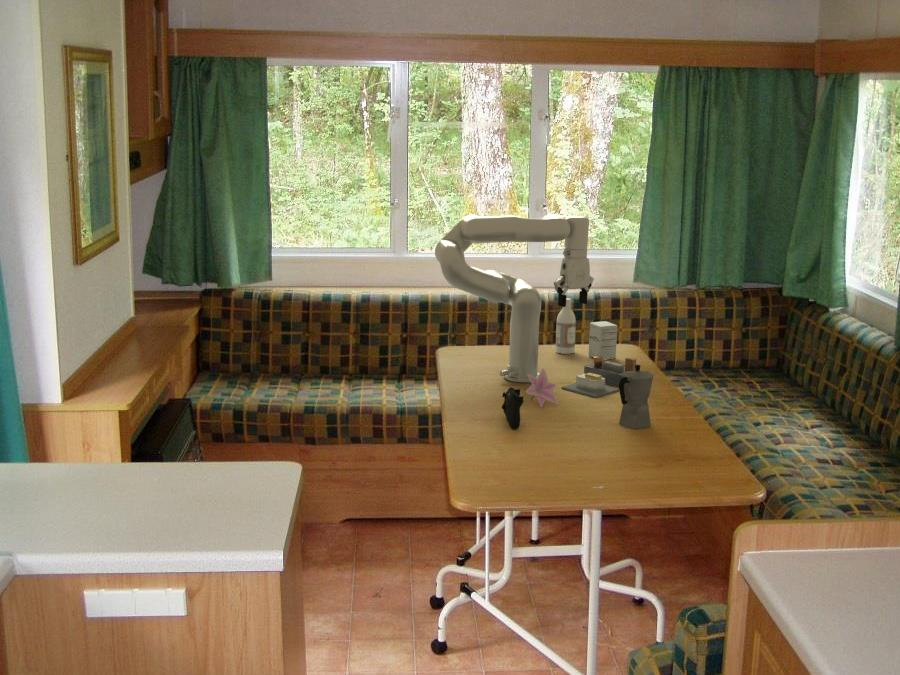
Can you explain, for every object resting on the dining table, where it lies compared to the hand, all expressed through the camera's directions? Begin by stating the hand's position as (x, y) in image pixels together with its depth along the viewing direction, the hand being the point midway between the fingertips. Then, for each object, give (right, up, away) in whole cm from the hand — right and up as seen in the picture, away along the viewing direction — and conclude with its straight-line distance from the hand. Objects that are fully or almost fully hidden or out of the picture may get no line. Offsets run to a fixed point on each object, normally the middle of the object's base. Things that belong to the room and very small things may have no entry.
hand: (572, 304), depth 371 cm
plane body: (+13, -25, +1) cm, 29 cm away
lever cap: (+5, -27, -10) cm, 29 cm away
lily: (-13, -31, -25) cm, 42 cm away
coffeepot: (+13, -37, -45) cm, 60 cm away
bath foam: (+2, -16, +39) cm, 42 cm away
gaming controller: (-23, -36, -45) cm, 62 cm away
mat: (+5, -28, -9) cm, 30 cm away
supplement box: (+14, -18, +32) cm, 39 cm away
